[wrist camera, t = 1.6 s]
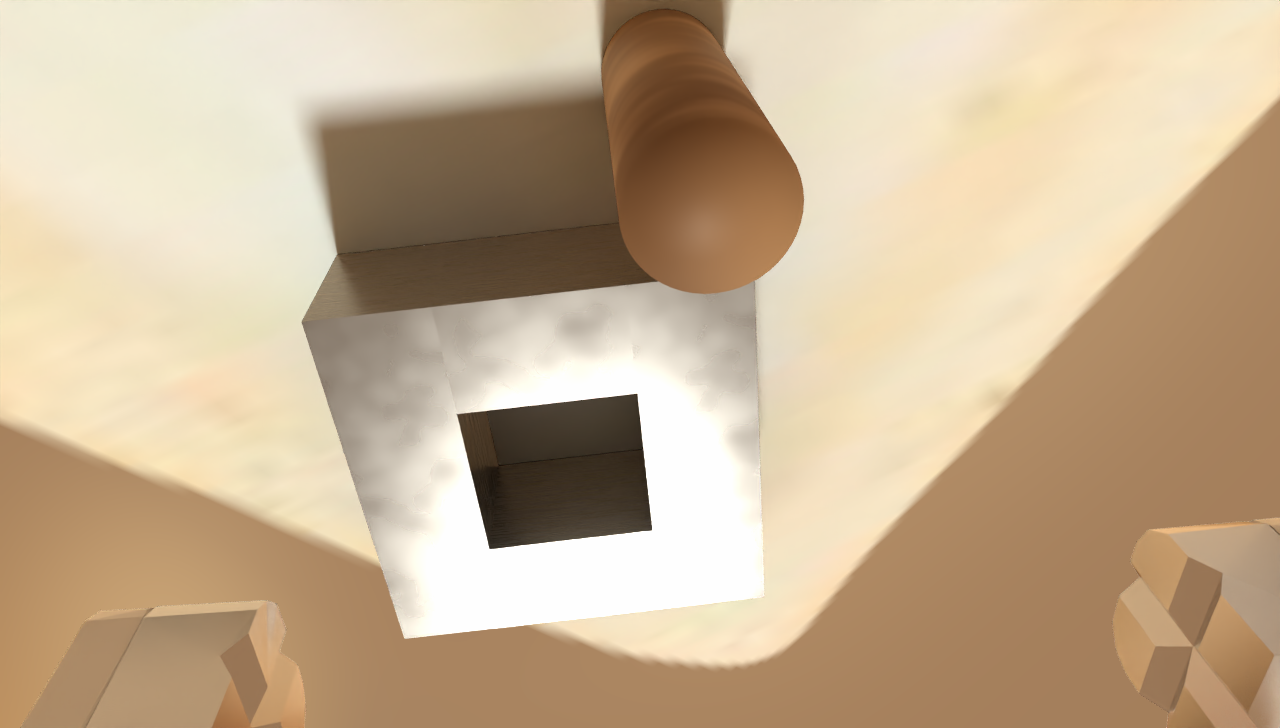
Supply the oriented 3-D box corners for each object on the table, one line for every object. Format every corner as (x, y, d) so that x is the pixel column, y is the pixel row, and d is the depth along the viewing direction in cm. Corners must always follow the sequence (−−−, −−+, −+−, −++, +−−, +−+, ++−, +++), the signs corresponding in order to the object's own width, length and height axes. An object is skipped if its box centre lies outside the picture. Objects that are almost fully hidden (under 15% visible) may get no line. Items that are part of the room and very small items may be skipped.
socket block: (730, 210, 32) (754, 270, 28) (743, 512, 40) (764, 596, 35) (336, 254, 32) (301, 321, 28) (422, 549, 40) (404, 638, 35)
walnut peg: (720, 2, 29) (804, 107, 19) (726, 127, 31) (803, 283, 21) (594, 16, 29) (608, 129, 19) (608, 140, 31) (627, 303, 21)
